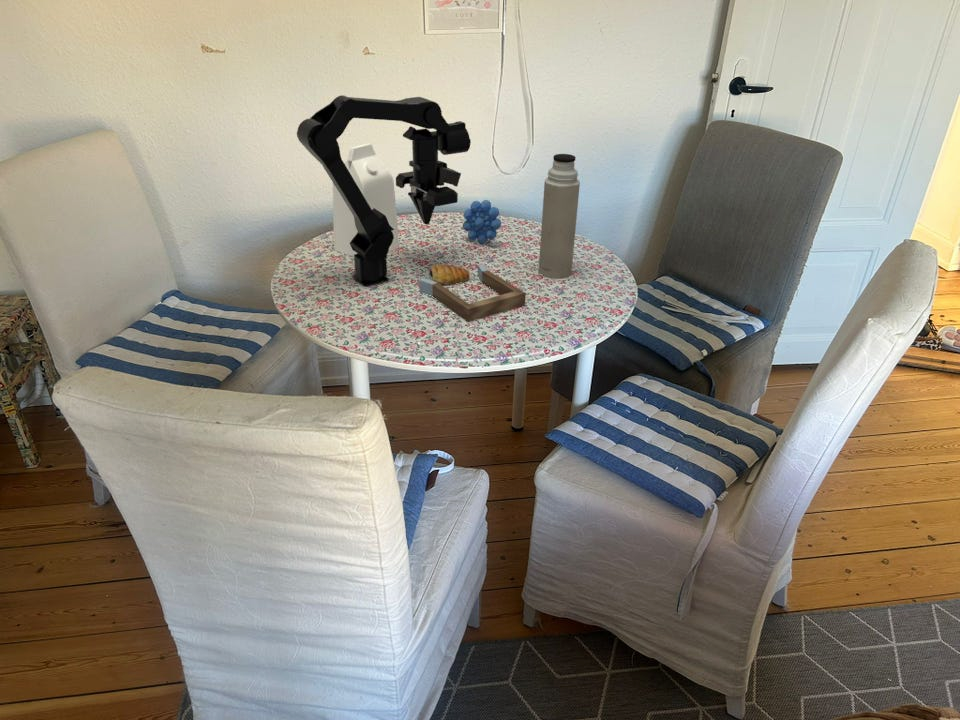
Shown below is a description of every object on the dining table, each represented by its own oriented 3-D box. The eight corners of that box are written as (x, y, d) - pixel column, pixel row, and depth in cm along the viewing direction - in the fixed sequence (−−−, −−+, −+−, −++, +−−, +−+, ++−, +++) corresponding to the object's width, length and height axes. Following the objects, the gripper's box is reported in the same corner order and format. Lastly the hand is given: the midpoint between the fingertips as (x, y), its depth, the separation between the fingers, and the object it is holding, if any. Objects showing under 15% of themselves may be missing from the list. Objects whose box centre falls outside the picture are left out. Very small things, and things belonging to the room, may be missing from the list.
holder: (462, 323, 150) (462, 310, 148) (418, 291, 163) (417, 279, 162) (529, 303, 159) (530, 291, 157) (482, 275, 172) (482, 263, 170)
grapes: (508, 243, 190) (510, 199, 184) (494, 251, 185) (496, 206, 179) (472, 234, 195) (472, 190, 189) (457, 241, 190) (458, 197, 184)
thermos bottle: (531, 269, 175) (539, 154, 161) (556, 262, 179) (565, 149, 165) (553, 281, 170) (563, 162, 155) (578, 273, 174) (589, 157, 160)
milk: (367, 236, 192) (361, 137, 179) (399, 247, 186) (395, 145, 173) (334, 249, 184) (325, 146, 170) (366, 261, 178) (359, 155, 165)
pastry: (465, 273, 173) (466, 258, 171) (472, 285, 167) (472, 270, 165) (427, 276, 171) (427, 261, 169) (432, 288, 165) (432, 273, 163)
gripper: (478, 162, 159) (476, 229, 167) (434, 144, 172) (435, 207, 180) (435, 169, 154) (435, 238, 162) (393, 149, 167) (396, 214, 175)
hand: (426, 223), depth 170 cm, fingers closed
